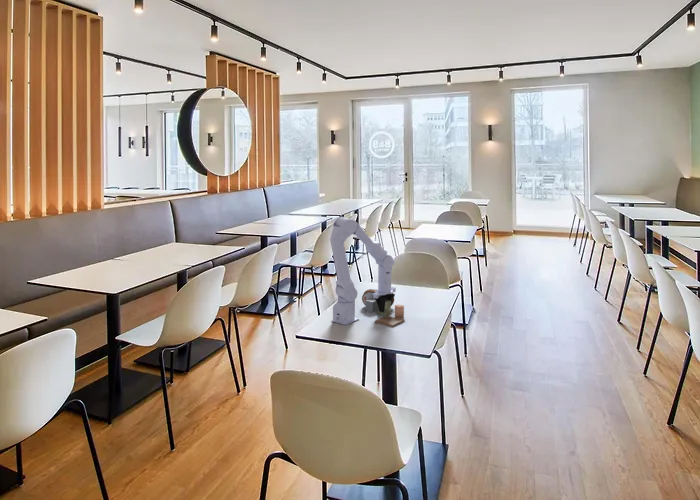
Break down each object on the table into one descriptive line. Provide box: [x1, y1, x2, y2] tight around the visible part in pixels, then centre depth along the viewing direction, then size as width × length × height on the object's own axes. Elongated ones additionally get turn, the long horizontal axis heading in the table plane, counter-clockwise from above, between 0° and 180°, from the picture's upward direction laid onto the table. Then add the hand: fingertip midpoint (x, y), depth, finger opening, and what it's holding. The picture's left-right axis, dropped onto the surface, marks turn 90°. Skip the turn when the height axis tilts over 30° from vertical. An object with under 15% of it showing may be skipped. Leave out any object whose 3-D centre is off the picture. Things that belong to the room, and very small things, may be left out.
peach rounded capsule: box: [394, 304, 405, 319], centre depth 209 cm, size 4×4×5 cm
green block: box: [377, 300, 392, 317], centre depth 213 cm, size 4×4×6 cm
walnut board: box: [374, 315, 406, 328], centre depth 203 cm, size 9×9×1 cm
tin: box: [361, 288, 395, 307], centre depth 222 cm, size 15×3×8 cm, turn 74°
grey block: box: [365, 299, 378, 313], centre depth 218 cm, size 4×4×5 cm
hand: (384, 310), depth 213 cm, fingers closed on green block, 4 cm apart
